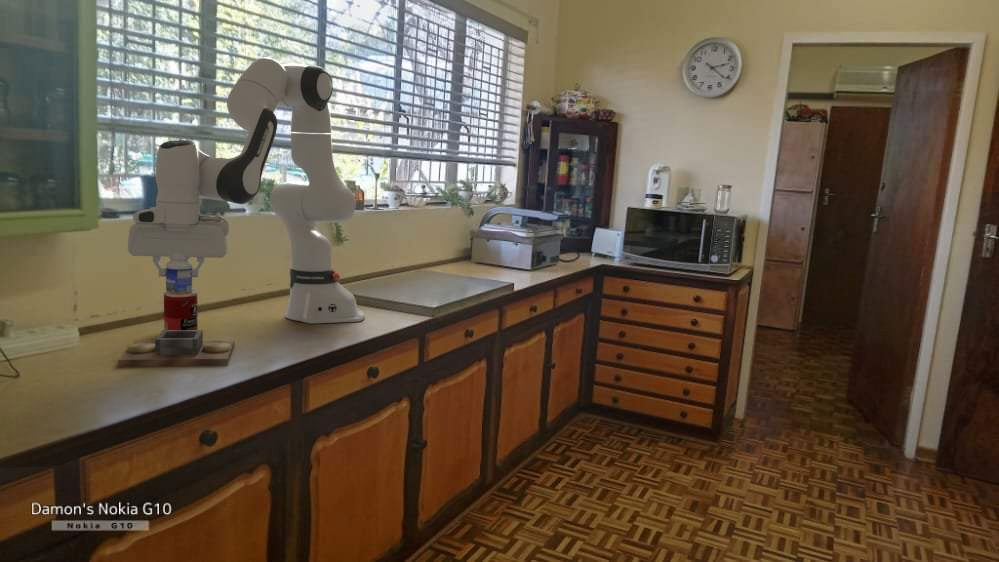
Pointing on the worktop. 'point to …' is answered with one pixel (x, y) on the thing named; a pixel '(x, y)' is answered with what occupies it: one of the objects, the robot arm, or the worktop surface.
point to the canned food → (180, 312)
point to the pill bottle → (179, 276)
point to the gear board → (177, 350)
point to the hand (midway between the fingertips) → (179, 276)
